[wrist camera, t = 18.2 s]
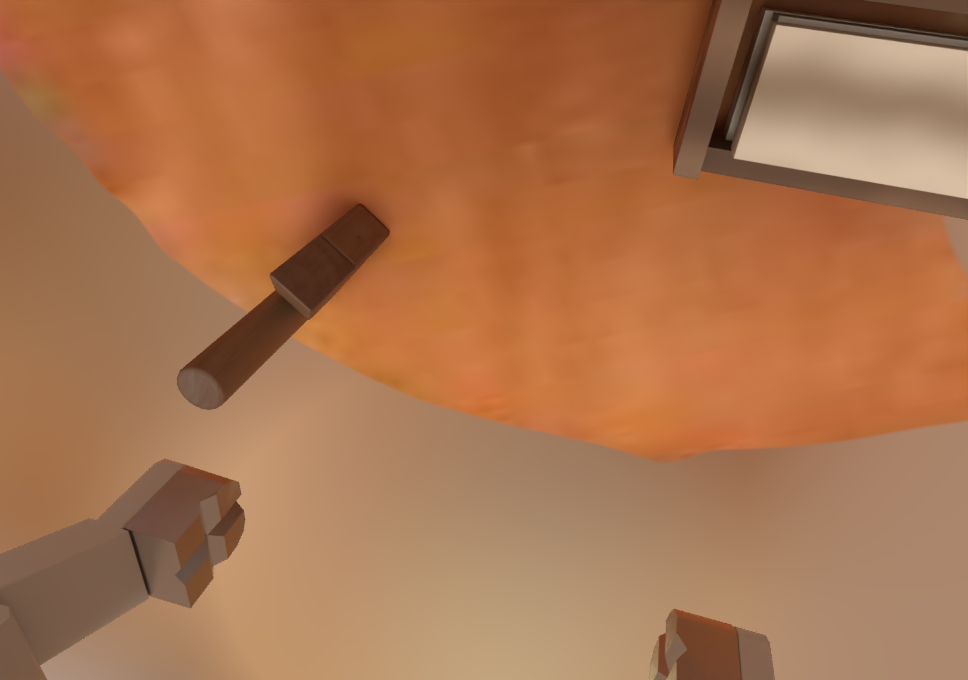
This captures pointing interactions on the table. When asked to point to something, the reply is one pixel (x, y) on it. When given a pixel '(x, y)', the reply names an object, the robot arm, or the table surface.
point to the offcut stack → (854, 101)
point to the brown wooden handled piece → (282, 308)
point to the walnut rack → (714, 155)
